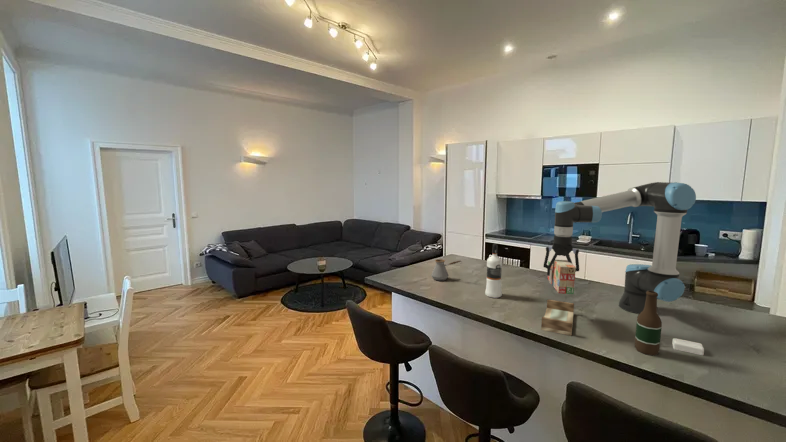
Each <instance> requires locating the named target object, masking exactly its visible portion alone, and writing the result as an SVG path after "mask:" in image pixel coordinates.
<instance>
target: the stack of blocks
mask: <svg viewBox="0 0 786 442" xmlns="http://www.w3.org/2000/svg"><path fill="white" fill-rule="evenodd" d="M550 262H551V260H548V262H547V265H548V266H549V264H550ZM551 269H552V282H551V283H550V284H551V285H552V286H553V287H554V288H555V289H554V290H555V291H556V292H557V293H558V294H564V295H565V294H567V295H574V294H575V281H576V272H577V271H576V265H574V264H573V262H572V263H570V262H568V260H567V259H555V261H554V263H553V264H552V266H551ZM575 271H576V272H575ZM547 279H548V281H549V279H550V276H547Z"/></svg>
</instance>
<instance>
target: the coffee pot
mask: <svg viewBox="0 0 786 442" xmlns="http://www.w3.org/2000/svg"><path fill="white" fill-rule="evenodd" d="M434 261H435V265H434V268H433V270H432V272H431V273H430V274H431V275H430V276H431V278H432V279H433V280H435V281H437V282H442V281H443V282H444V281H446V280H447V279H448V278H449V273H448V271H447V268H446V266H449V265H453V264H454V265H455V264H458V263H460V264H463V261H461V260H457V261H456V260H455V261H453V262H450V263H447V264H445V261H446V260H445V259H441V258H440V259H435V260H434Z"/></svg>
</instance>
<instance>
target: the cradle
mask: <svg viewBox="0 0 786 442" xmlns="http://www.w3.org/2000/svg"><path fill="white" fill-rule="evenodd" d="M574 309H575V303H572V302H566V301H561V300H555V299H547V300H546V309H545V314H544V315H543V316H542V317H541V326H540V330H541V331H545V332H551V333H556V334H560V335H566V336H571V337H572V333H573V324H574V322H573V321H574V313H575V312H574V311H575V310H574Z"/></svg>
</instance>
